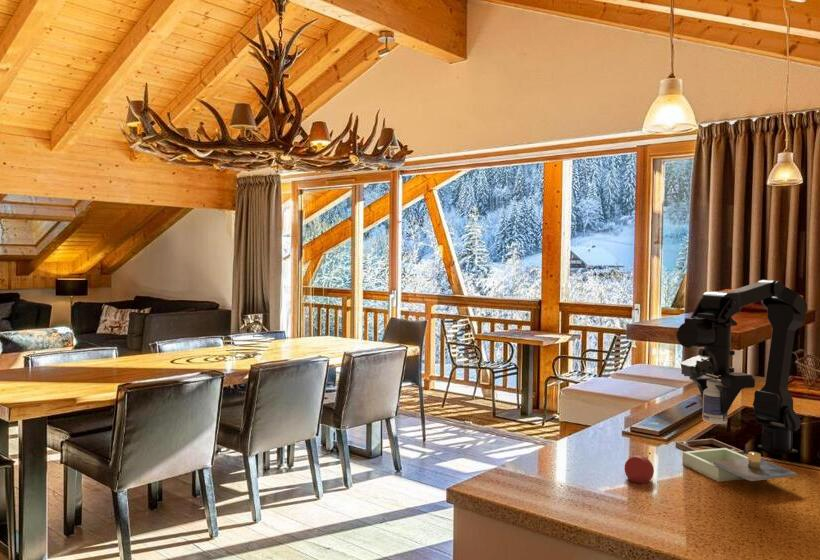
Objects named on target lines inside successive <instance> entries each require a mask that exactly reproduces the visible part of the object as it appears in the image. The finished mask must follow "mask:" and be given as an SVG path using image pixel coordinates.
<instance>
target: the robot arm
mask: <svg viewBox="0 0 820 560" xmlns="http://www.w3.org/2000/svg"><path fill="white" fill-rule="evenodd" d="M701 296H702V297H701V298H700V300H699V302H698V304H697V305H696V307H695V308H694V310H693V312H692V314H691V316H690V317H685V318H684V323H682V324H680V326H679V327H678V330H677V331H676V338H677V341H678V342H679V344H680V345H681V346H682V347H684V348H687V349H689V348H699V350H698V355H696V356H692V357H690V358H688V359H685V360H683V361H681V362H680V363H679V364H680V367H681V375H683V376H684V377H688V378H689V380H691V381H692V382H694V384H696V385H697V387H698V391H699V393H700V396H701V399H702V401H703V391H704V390H705V389H706V388H708V386H707V380H708V379H716V380H721V383H722V385H715V386H716V387H717V389H718V390H719V391H720V406H721V413H722V414H726V413H727V412H728V413H729V410H730V408H731V407H732V405H733V403H734V401H735V400H736V398H737V397H738V395H739V394H740V393H741V391H742V390H743V389H744V390H745V389H752V388H753V389H755V387H756V379H755V377H754V376H753V374H749V373H745V372H739V371H738V372H735V368H734V367H731V356H735V354H736V353H735V350H733V349H732V348H731V347H732V343H731V342H732V327H737V326H738V322H737V321H736V320H734V318H733V316H735V315H737V314H739V313H740V312H741V309H742V308H743V307H746V306H749V305H752V304H755V303H757V302H760V303H761V305H762V306H764V308H765V309H767V310H766V311H767V312H766V318H767V320H768V322H769V323H770V325H771V328H772V331H771V338H770V345H769V352H768V360H767V366H766V367H767V369H766V374H765V375H766V376H765V382H764V385H763V386H762V387H761V388H760V390H758V389H756V390H755V391H754V396H753V397H754V399H753V403H752V409H753V413H754V417H755V421H756V424H759V425H762V431H761V444H757V448H759V449H761V450H763V451H766V452H769V453H772V454H774V455H786V454H787V455H788V454H796V453H798V450H797V449H794V448H793V443H794V442H793V437H794V436H793V434H794V433H793V432H797V431H798V430H799V429H800V428H801V425H802V420H801V419H800V417H799V416H798V414H797V413H796V411H795V410H794V399H793V397H792V394H791V392H790V391H789V387H788V386H789V381H790V380H789V378H790V371H791V364H792V357H793V348H794V342H795V335H796V331H797V330H798V329H799V328H800V326H801V325H802V324H803V323H804V321H805V317H806V314H807V311H808V302H807V301H806V300H805V299H804V298H803V296H801V295H800V294H799V293H798V292H796V291H794V290H793V289H791V288H789V287H787V286H785V285H784V284H783V283H782V281H779V280H777V279H760V280H758V281H757V282H754V283H750V284H748V285H745V286H744V285H743V286H741V287H738V288H735V289H732V290H724V291H723V290H722V291H721V290H717V291H706V292H704V293H703V294H702V295H701Z"/></svg>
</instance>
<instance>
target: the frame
mask: <svg viewBox="0 0 820 560" xmlns="http://www.w3.org/2000/svg"><path fill="white" fill-rule="evenodd" d="M684 442H686V443H688V446H686V445H684V444H683V443H684ZM704 445H714V446H717V447H718V448H727V449H730V450H731V449H735V450H736V451H735V452H737V453H739V454H742V455H744V456H745V451H744V450H742V449H740V448H737V447H735V446H732V445H729V444H727V443H725V442H722V441H720V440H717V439H715V438H705V439H692V440H680V441H675V447H676V448H679V449H681V450H683V451H684V452H687V451H697V450H698V449H695V448H693V446H704Z"/></svg>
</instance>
